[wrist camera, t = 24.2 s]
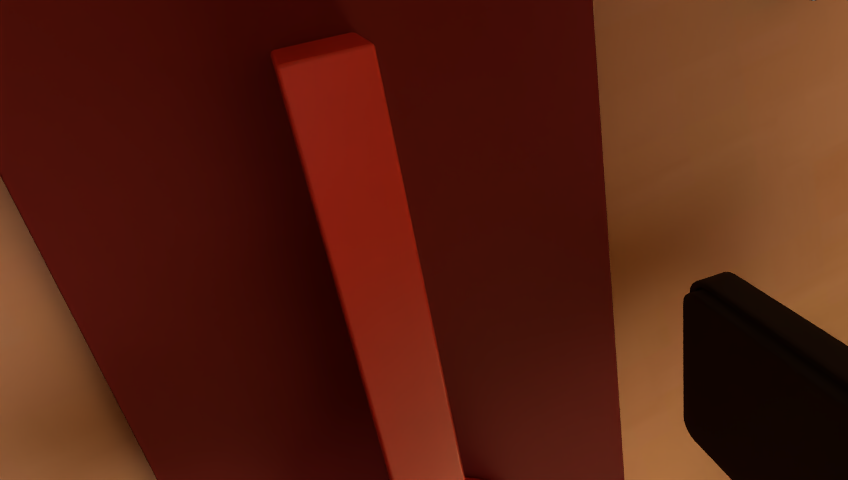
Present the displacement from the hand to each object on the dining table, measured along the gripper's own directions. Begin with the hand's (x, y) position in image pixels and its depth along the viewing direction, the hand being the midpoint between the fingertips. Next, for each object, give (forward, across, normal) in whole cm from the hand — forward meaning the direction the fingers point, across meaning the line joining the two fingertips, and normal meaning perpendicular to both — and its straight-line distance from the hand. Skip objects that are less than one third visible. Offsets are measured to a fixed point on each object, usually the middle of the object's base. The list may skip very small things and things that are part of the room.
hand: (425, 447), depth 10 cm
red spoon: (+3, 0, +1) cm, 3 cm away
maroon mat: (+4, 0, +2) cm, 4 cm away
